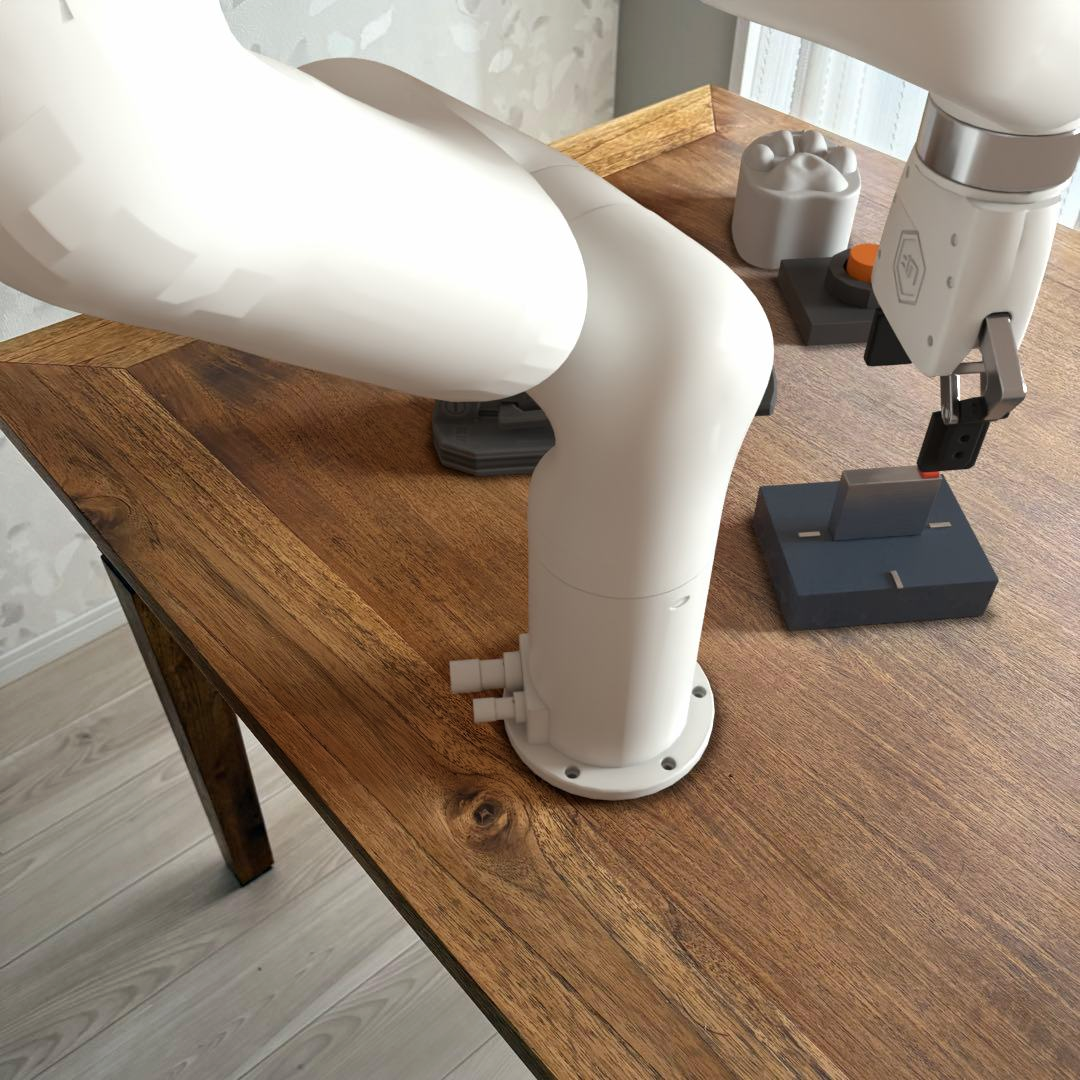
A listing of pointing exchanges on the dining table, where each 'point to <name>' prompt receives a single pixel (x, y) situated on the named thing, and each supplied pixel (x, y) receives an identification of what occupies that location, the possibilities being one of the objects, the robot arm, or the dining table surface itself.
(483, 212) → the robot arm
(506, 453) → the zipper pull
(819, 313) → the box
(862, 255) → the button
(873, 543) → the lever switch base
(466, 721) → the dining table surface
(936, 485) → the gray slab
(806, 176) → the lumpy-topped squat cylinder
